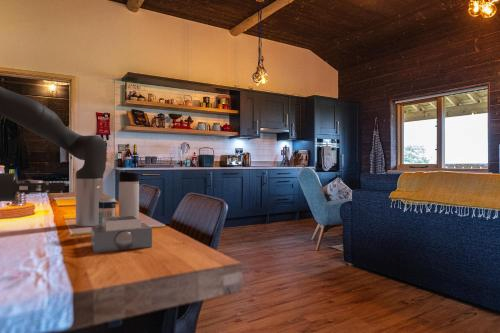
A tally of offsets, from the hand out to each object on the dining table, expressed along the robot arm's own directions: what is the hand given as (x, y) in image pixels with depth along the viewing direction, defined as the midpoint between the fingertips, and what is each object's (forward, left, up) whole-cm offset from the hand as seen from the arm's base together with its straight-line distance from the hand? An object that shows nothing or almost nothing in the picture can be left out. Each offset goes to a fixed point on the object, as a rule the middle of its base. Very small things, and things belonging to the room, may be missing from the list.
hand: (65, 186), depth 96 cm
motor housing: (+14, +13, -16) cm, 25 cm away
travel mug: (-6, +18, -16) cm, 25 cm away
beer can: (0, +11, -16) cm, 19 cm away
